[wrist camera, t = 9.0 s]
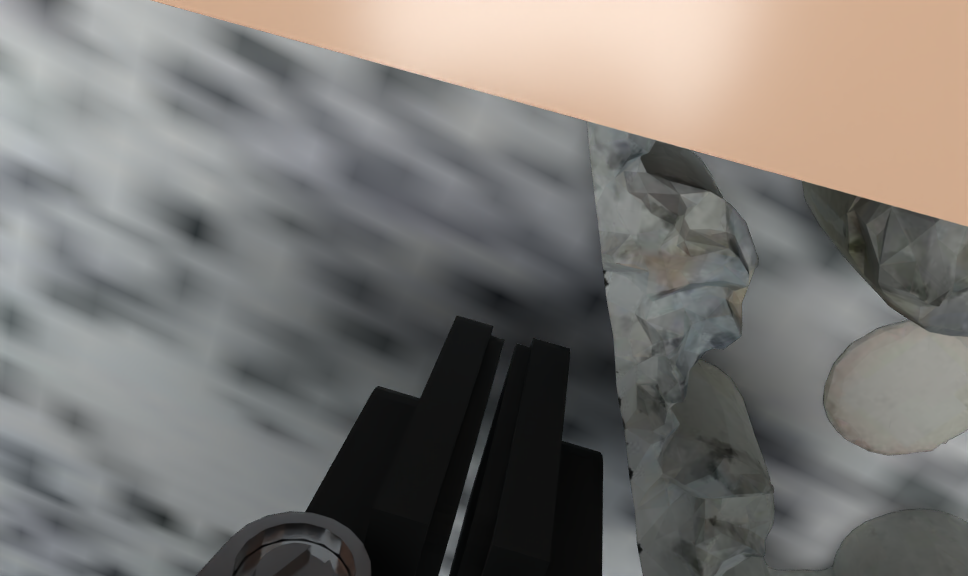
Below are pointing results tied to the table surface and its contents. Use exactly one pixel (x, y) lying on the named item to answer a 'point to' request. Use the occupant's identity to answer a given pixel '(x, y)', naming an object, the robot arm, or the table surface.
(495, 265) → the table surface
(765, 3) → the shelf
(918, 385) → the egg carton
